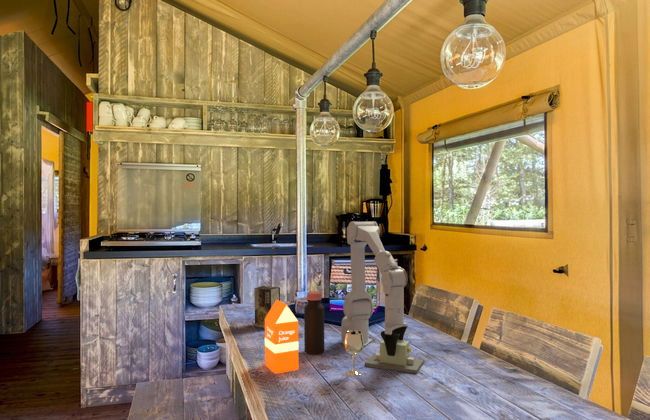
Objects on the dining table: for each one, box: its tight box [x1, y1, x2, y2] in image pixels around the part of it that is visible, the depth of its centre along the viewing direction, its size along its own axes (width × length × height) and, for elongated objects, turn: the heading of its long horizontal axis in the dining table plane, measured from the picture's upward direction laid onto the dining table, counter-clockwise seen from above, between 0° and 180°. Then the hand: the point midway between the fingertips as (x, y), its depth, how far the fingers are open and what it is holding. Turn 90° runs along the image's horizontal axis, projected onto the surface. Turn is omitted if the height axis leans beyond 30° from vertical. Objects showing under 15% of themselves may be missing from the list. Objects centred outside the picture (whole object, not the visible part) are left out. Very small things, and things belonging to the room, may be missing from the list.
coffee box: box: [253, 285, 281, 329], centre depth 182 cm, size 9×6×16 cm
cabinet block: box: [379, 339, 412, 366], centre depth 136 cm, size 9×5×6 cm, turn 66°
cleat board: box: [364, 352, 425, 374], centre depth 137 cm, size 16×10×2 cm, turn 66°
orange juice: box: [264, 299, 300, 375], centre depth 135 cm, size 8×9×20 cm
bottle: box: [303, 290, 325, 356], centre depth 149 cm, size 7×7×20 cm
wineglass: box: [343, 330, 364, 377], centre depth 129 cm, size 6×6×12 cm
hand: (394, 351), depth 137 cm, fingers open, 7 cm apart
